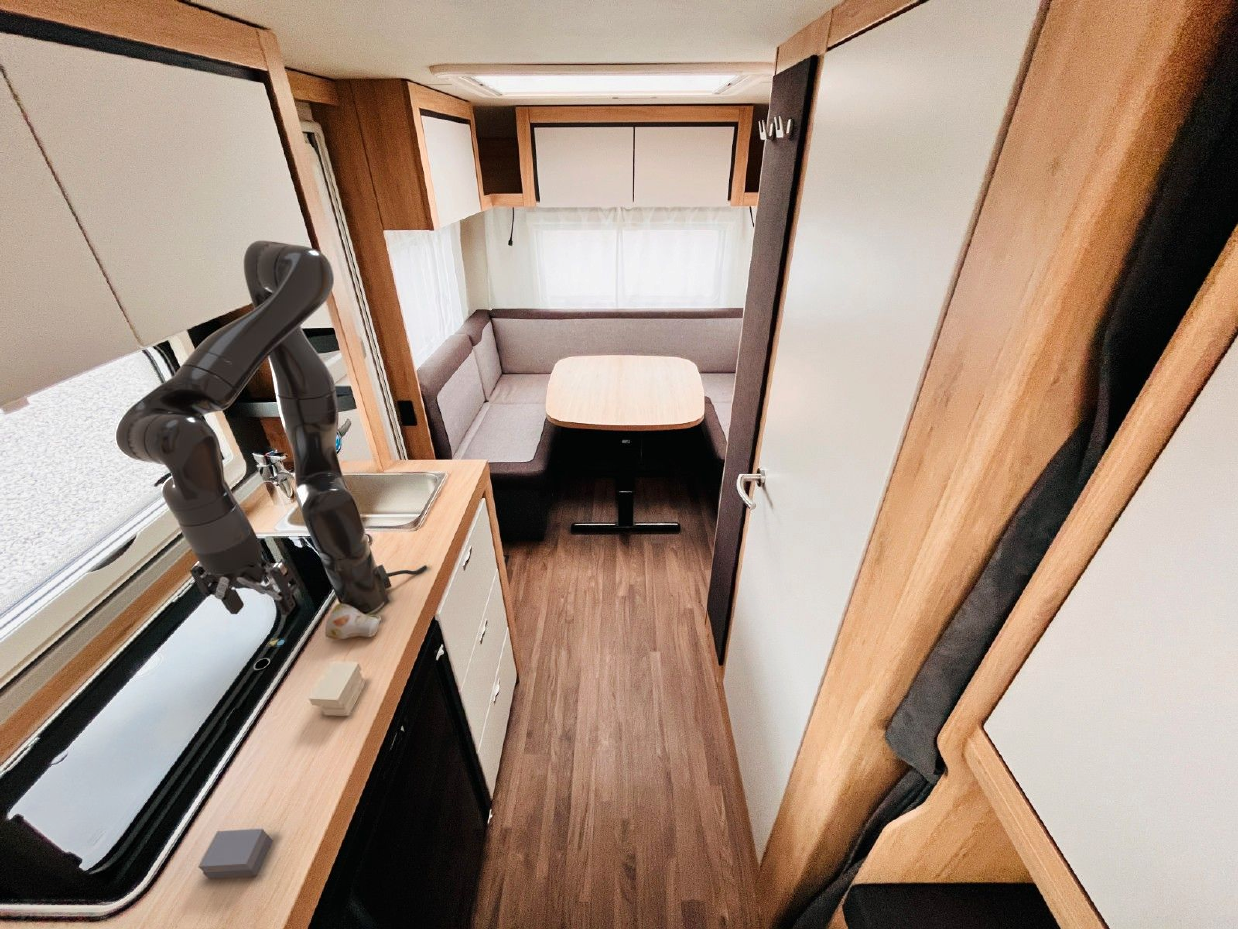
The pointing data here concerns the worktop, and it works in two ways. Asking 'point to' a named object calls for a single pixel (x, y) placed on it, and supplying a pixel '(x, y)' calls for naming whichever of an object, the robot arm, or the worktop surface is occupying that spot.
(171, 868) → the worktop surface
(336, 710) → the white stack
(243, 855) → the grey stack
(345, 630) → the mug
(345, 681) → the white book
